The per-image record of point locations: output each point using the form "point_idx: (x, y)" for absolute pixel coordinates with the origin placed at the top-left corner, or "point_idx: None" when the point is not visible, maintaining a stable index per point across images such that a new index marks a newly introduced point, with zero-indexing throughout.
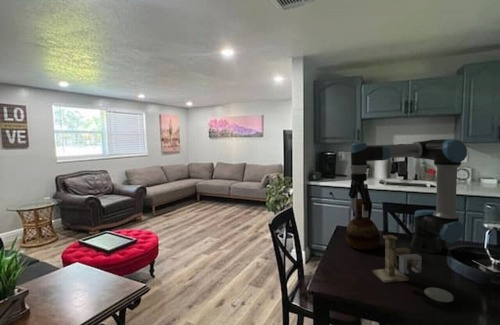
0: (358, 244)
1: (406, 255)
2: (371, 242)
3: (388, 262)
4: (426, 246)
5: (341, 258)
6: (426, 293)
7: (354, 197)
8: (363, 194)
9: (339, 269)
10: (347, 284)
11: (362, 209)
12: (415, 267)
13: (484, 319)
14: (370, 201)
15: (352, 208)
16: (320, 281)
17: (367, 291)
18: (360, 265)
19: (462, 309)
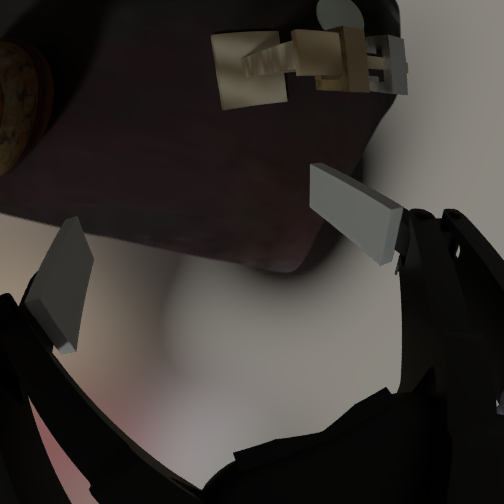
0: (45, 126)
1: (396, 74)
2: (47, 74)
3: (277, 73)
4: None
5: (119, 190)
6: None
7: (29, 323)
8: (473, 327)
9: (202, 206)
10: (285, 199)
11: (349, 235)
12: (368, 47)
13: (398, 15)
14: (468, 223)
15: (87, 260)
16: (267, 257)
17: (317, 161)
18: (171, 134)
19: (379, 19)
